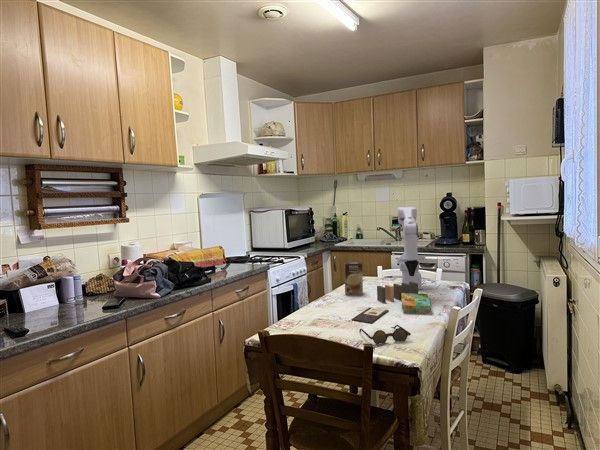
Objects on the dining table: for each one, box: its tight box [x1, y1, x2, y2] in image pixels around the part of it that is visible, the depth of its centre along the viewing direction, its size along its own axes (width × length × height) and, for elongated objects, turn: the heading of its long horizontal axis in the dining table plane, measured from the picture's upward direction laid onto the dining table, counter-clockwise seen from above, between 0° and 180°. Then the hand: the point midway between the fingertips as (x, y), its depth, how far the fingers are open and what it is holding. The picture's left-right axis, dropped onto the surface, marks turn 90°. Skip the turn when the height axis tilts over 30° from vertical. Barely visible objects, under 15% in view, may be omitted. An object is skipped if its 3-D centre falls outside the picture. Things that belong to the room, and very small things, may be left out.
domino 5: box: [409, 281, 419, 293], centre depth 191 cm, size 2×5×7 cm, turn 18°
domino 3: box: [392, 282, 402, 301], centre depth 188 cm, size 2×5×7 cm, turn 18°
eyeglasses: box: [358, 324, 412, 345], centre depth 142 cm, size 15×15×5 cm
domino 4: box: [400, 282, 410, 293], centre depth 189 cm, size 2×5×7 cm, turn 18°
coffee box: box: [344, 261, 364, 296], centre depth 201 cm, size 9×6×16 cm
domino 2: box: [384, 283, 395, 302], centre depth 187 cm, size 2×5×7 cm, turn 19°
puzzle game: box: [401, 292, 432, 314], centre depth 174 cm, size 12×5×20 cm
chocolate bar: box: [351, 307, 389, 325], centre depth 165 cm, size 9×1×18 cm
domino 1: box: [376, 285, 387, 304], centre depth 185 cm, size 2×5×7 cm, turn 18°
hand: (411, 275), depth 190 cm, fingers closed
